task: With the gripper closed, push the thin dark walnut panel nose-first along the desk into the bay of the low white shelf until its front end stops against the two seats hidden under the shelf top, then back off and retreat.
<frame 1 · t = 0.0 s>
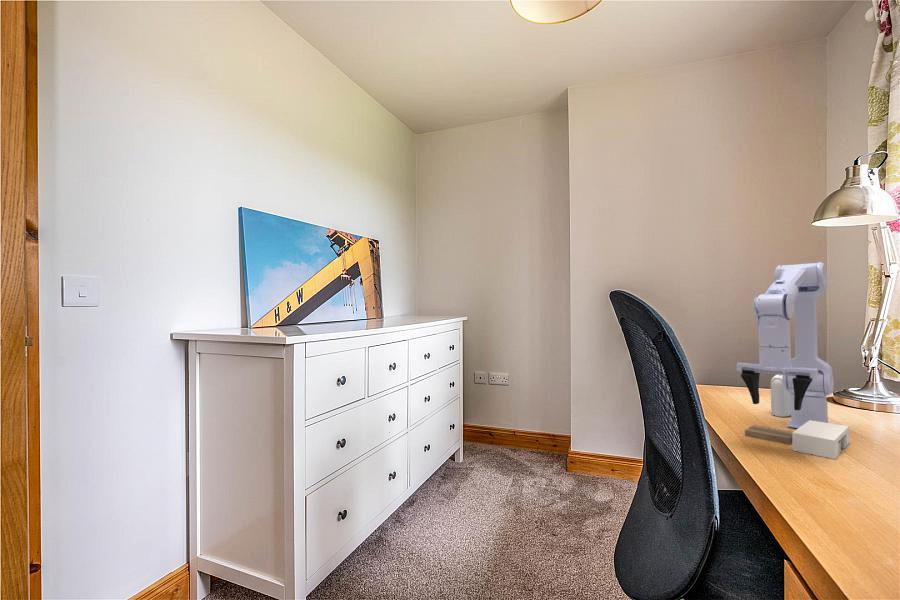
hand: (776, 406, 94), 10 cm above the table, tool pointing down, fingers open, 7 cm apart
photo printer: (784, 414, 125), on the table
walnut panel: (771, 439, 104), on the table
white shelf: (818, 446, 97), on the table
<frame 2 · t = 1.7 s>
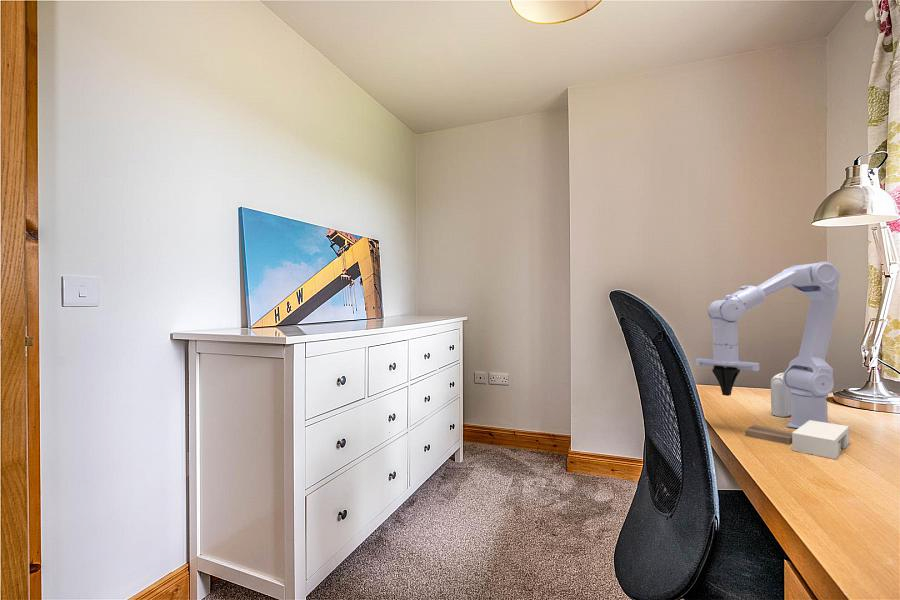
hand: (726, 395, 112), 9 cm above the table, tool pointing down, fingers closed
nothing on the table moved.
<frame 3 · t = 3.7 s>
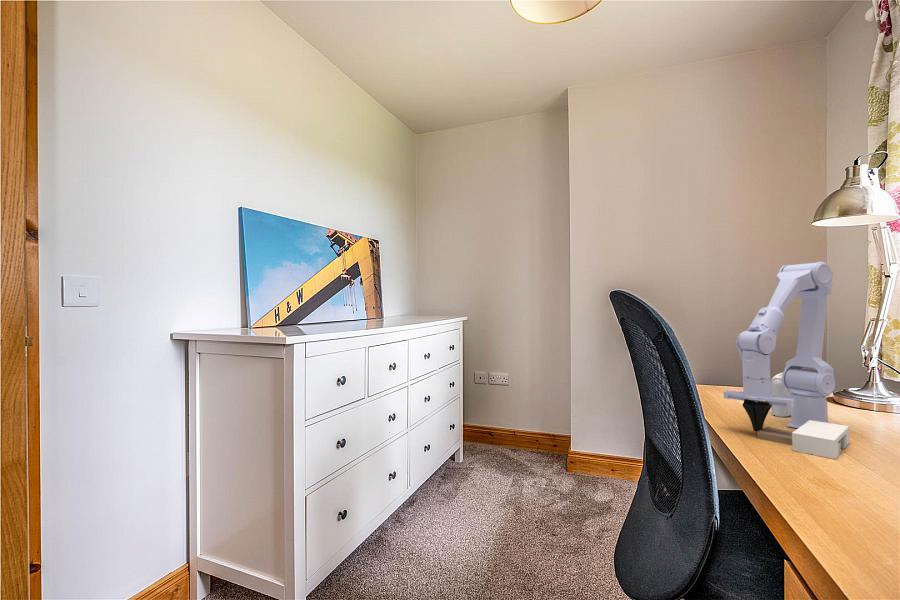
hand: (758, 430, 106), 1 cm above the table, tool pointing down, fingers closed
walnut panel: (784, 441, 102), on the table, touching gripper
everything else where it was.
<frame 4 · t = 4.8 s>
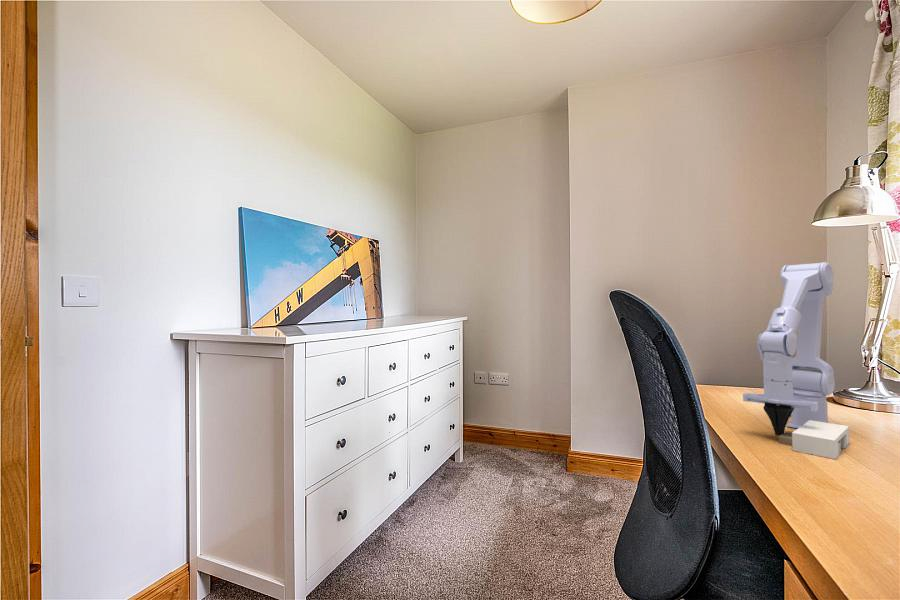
hand: (779, 435, 103), 1 cm above the table, tool pointing down, fingers closed
walnut panel: (807, 446, 98), on the table
everything else where it was.
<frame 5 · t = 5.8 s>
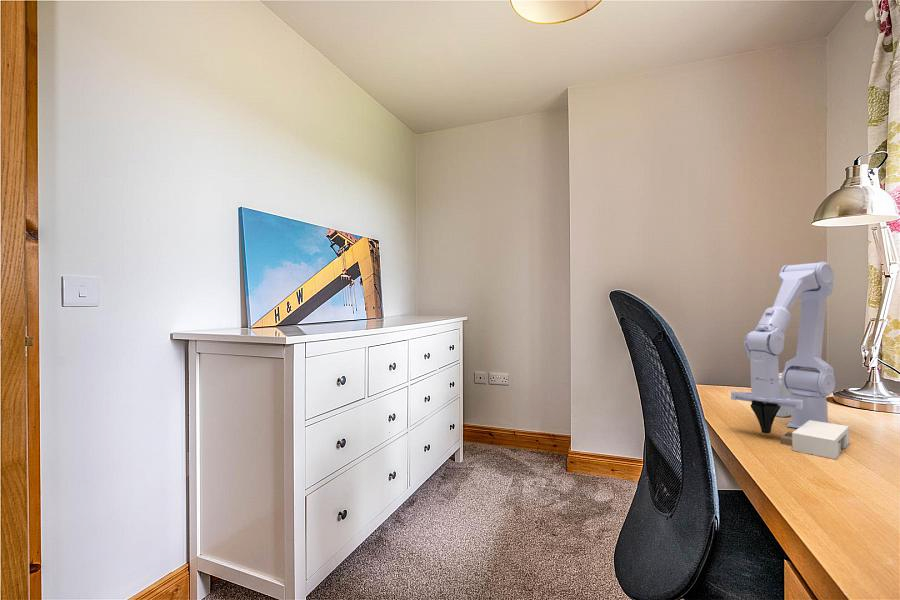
hand: (766, 432, 105), 1 cm above the table, tool pointing down, fingers closed
nothing on the table moved.
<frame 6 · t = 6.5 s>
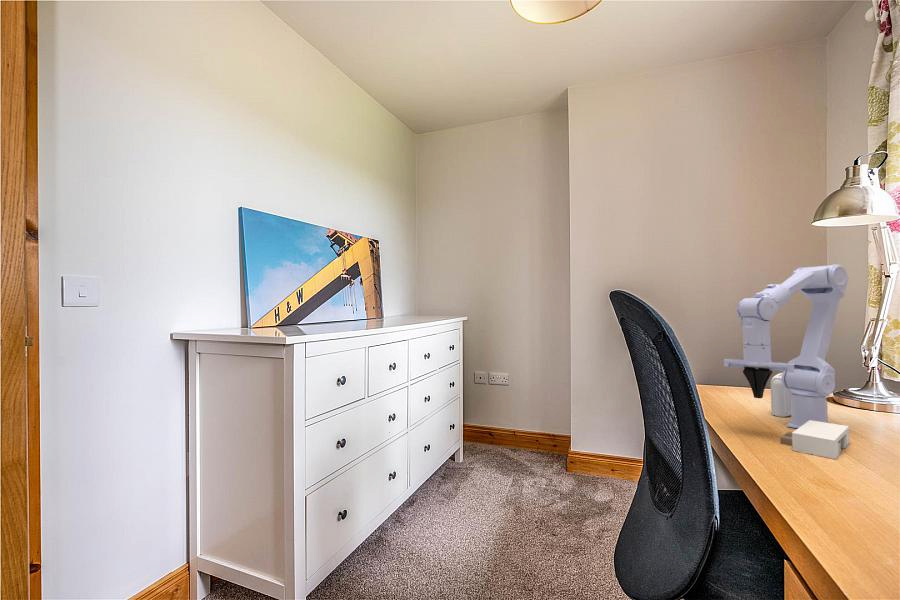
hand: (758, 397, 106), 9 cm above the table, tool pointing down, fingers closed
nothing on the table moved.
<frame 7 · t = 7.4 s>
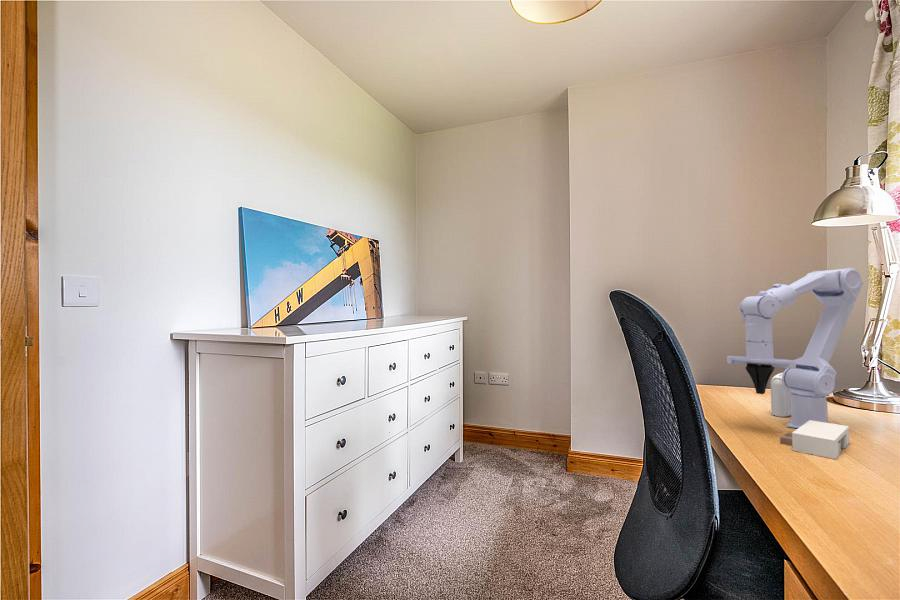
hand: (760, 393, 109), 10 cm above the table, tool pointing down, fingers closed
nothing on the table moved.
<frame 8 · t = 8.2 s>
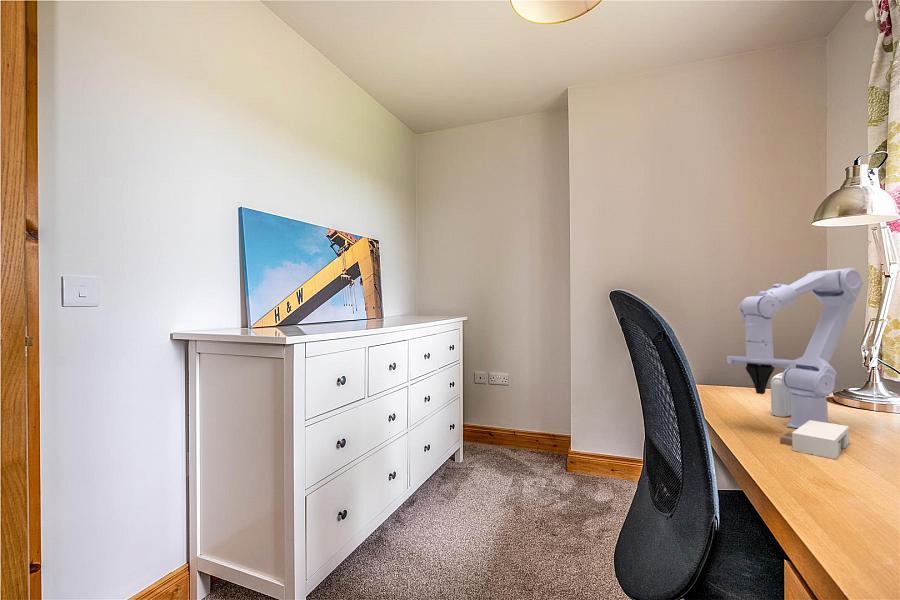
hand: (760, 393, 109), 10 cm above the table, tool pointing down, fingers closed
nothing on the table moved.
at the end: walnut panel 0.6 cm from the target spot on the white shelf, point -0.5 cm above the white shelf's base; walnut panel tilted 0° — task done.
